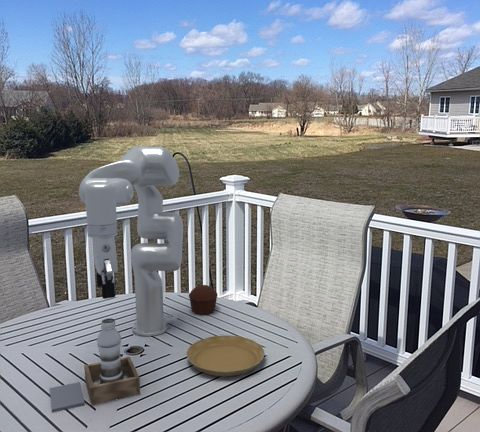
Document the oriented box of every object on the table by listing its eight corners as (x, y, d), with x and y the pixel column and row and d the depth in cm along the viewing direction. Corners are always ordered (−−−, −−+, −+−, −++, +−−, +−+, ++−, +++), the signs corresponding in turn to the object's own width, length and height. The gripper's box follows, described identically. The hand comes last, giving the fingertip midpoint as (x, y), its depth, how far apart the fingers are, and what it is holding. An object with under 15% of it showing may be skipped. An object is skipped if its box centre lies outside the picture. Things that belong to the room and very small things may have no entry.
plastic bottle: (128, 383, 137) (125, 317, 133) (115, 396, 131) (111, 327, 127) (109, 379, 139) (105, 314, 135) (95, 392, 133) (90, 324, 129)
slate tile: (80, 384, 137) (79, 381, 136) (84, 404, 127) (84, 402, 127) (49, 390, 133) (49, 388, 133) (52, 412, 123) (51, 409, 123)
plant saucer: (227, 337, 167) (227, 328, 166) (280, 361, 150) (280, 351, 149) (171, 361, 150) (170, 351, 150) (223, 391, 133) (223, 380, 133)
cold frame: (130, 371, 143) (129, 356, 142) (140, 394, 132) (139, 377, 131) (85, 381, 138) (84, 365, 137) (91, 405, 126) (89, 388, 125)
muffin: (189, 305, 194) (188, 282, 192) (216, 304, 195) (216, 281, 193) (189, 317, 182) (188, 292, 180) (218, 316, 183) (218, 291, 181)
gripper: (123, 235, 120) (126, 300, 123) (111, 222, 135) (114, 280, 138) (91, 238, 117) (95, 305, 120) (83, 224, 132) (87, 283, 135)
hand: (106, 291), depth 129 cm, fingers open, 9 cm apart
